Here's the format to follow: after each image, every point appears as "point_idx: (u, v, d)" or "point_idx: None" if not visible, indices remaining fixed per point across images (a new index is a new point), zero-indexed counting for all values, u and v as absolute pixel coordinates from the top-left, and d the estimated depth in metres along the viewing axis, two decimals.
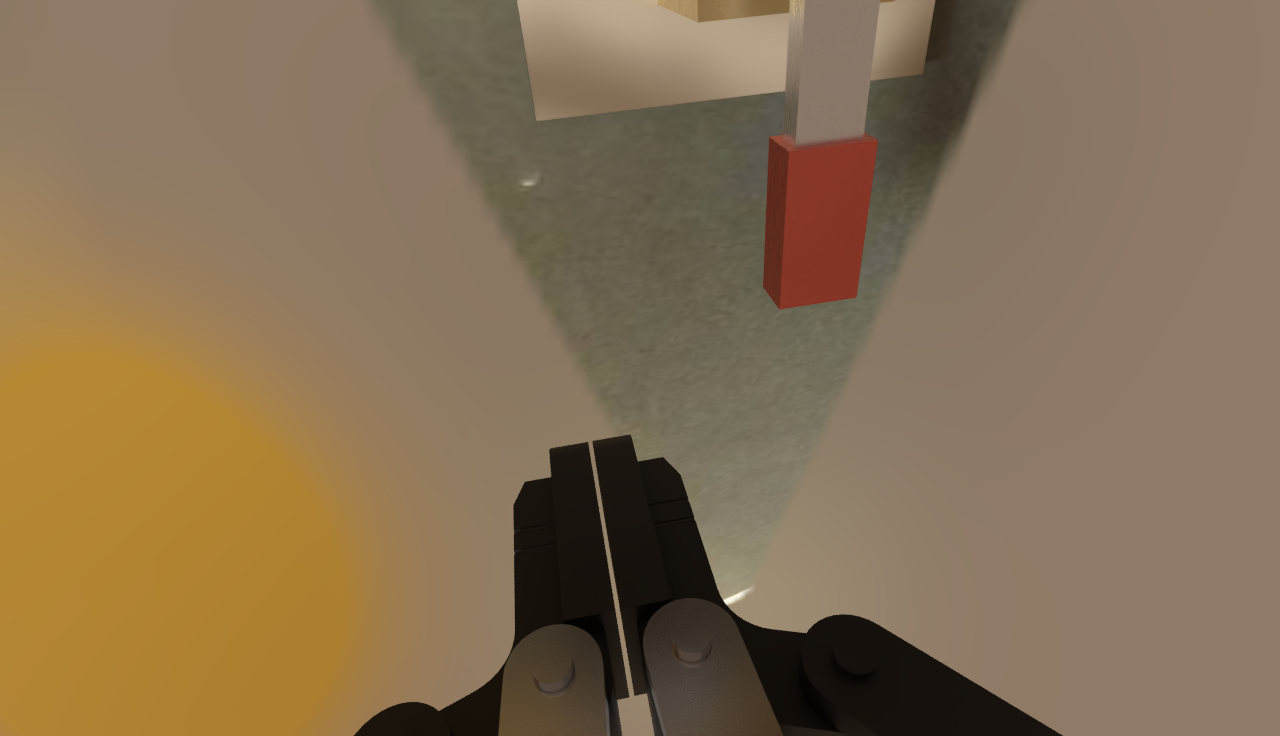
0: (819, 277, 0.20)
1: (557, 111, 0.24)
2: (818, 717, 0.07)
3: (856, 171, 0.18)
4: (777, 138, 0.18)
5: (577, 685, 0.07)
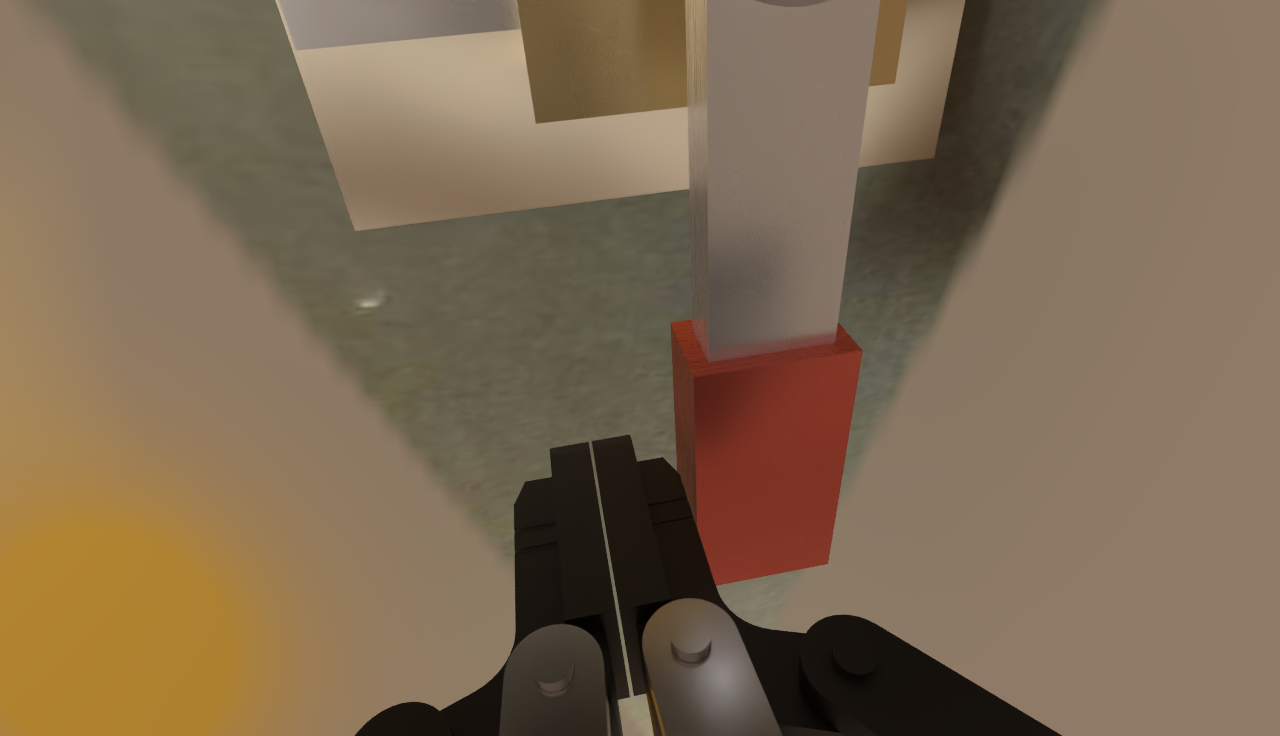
0: (764, 544, 0.12)
1: (385, 217, 0.16)
2: (817, 717, 0.07)
3: (823, 398, 0.10)
4: (683, 329, 0.10)
5: (578, 685, 0.07)
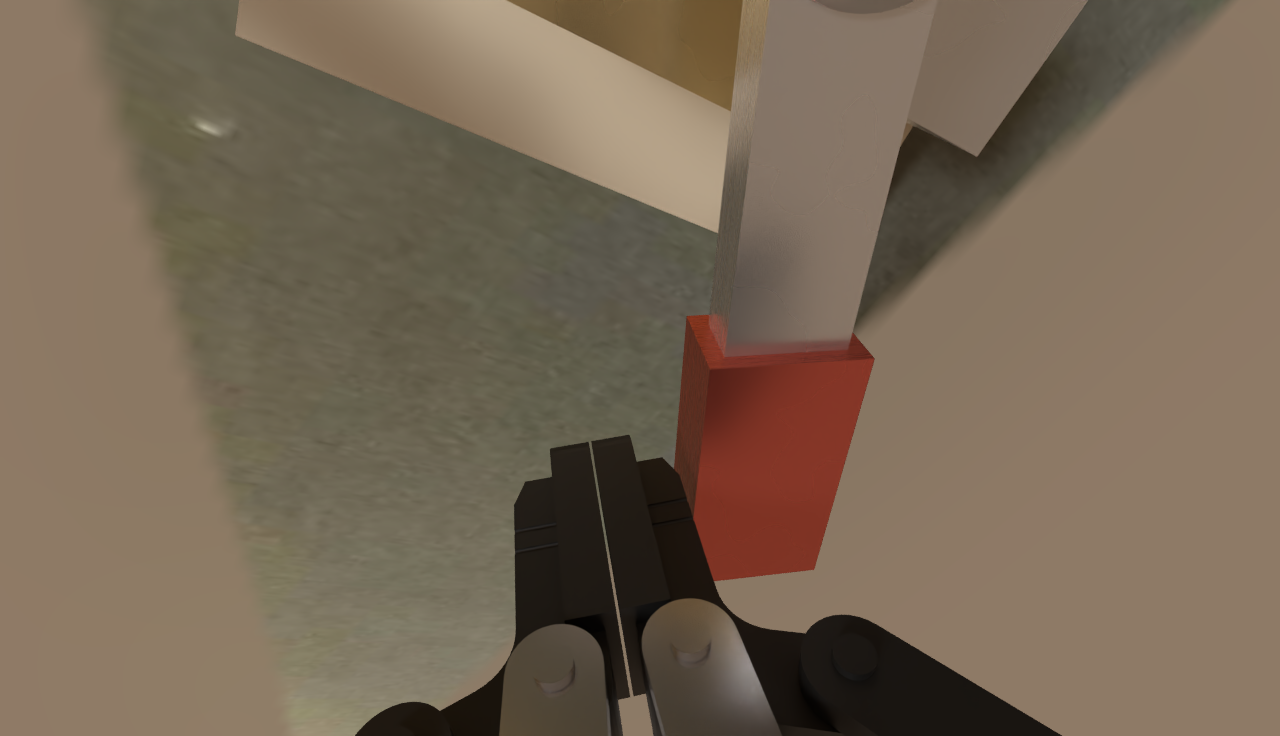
0: (755, 544, 0.12)
1: (279, 40, 0.14)
2: (817, 717, 0.07)
3: (831, 403, 0.10)
4: (699, 323, 0.10)
5: (578, 685, 0.07)
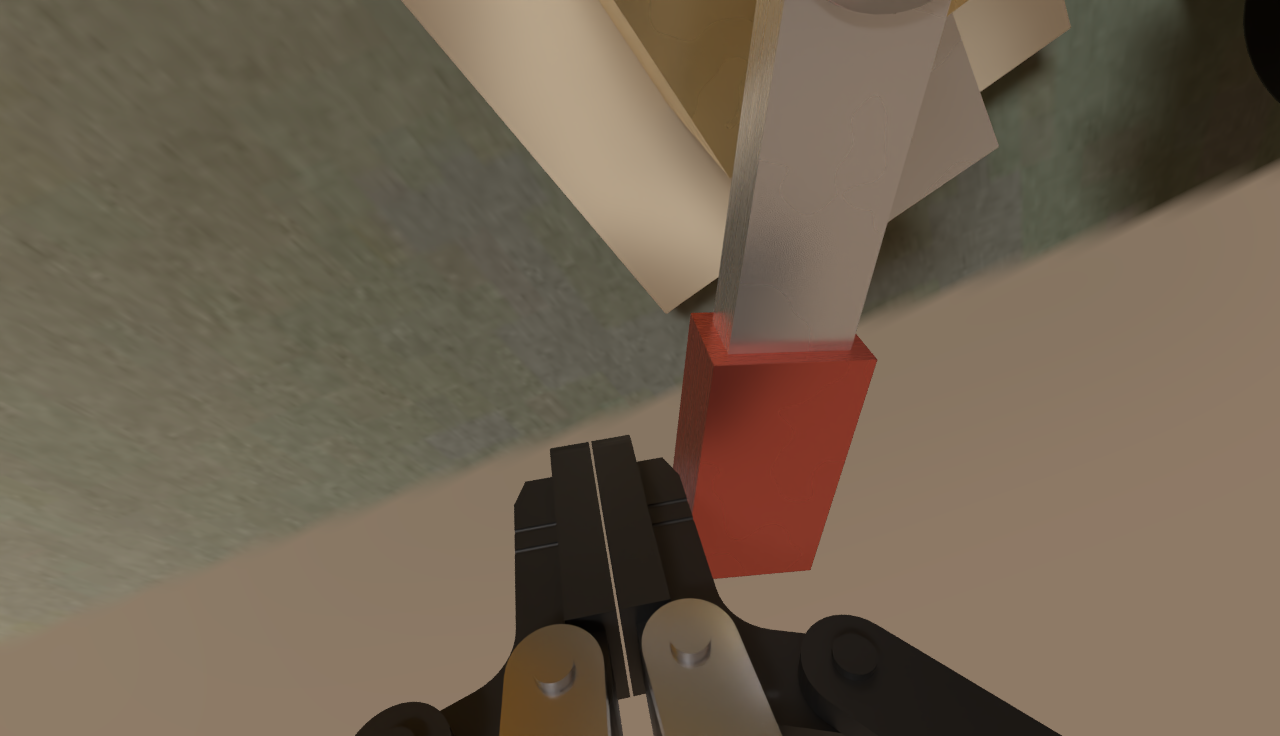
0: (752, 543, 0.12)
1: None
2: (817, 717, 0.07)
3: (832, 403, 0.10)
4: (703, 320, 0.10)
5: (578, 685, 0.07)
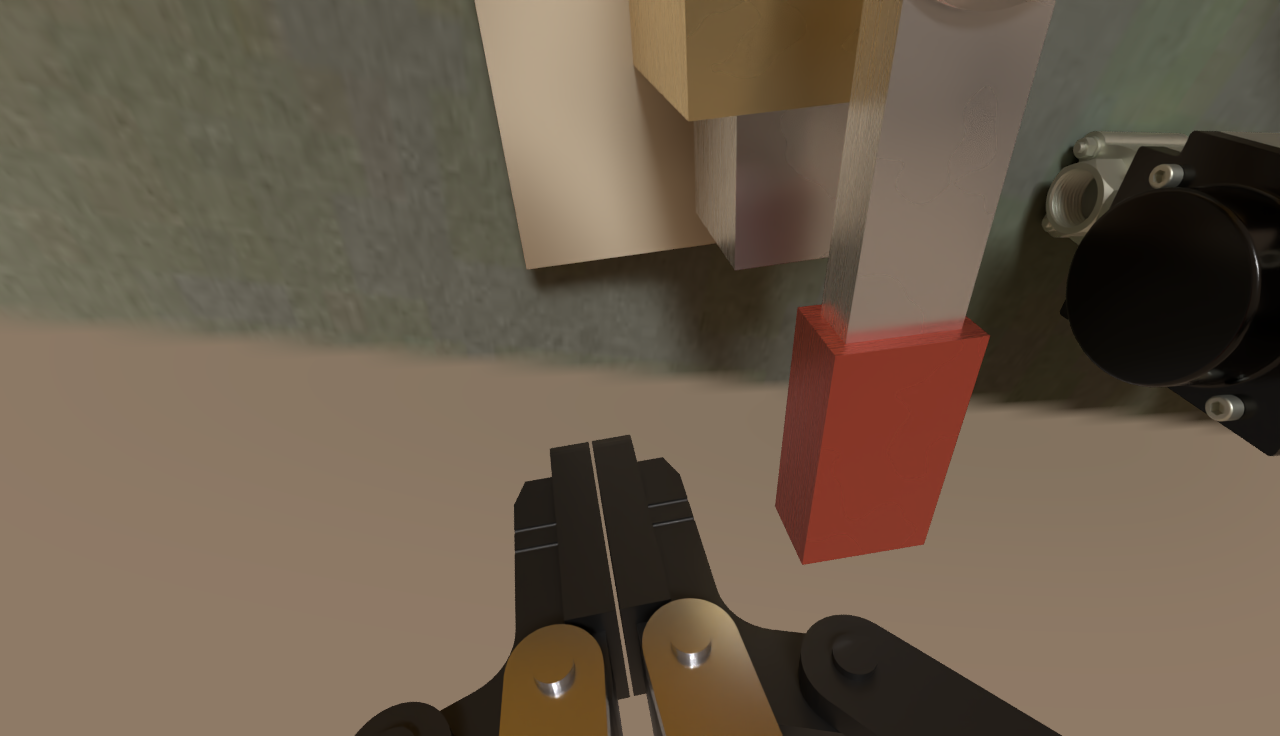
0: (869, 522, 0.12)
1: None
2: (817, 717, 0.07)
3: (947, 381, 0.10)
4: (811, 313, 0.11)
5: (577, 685, 0.07)
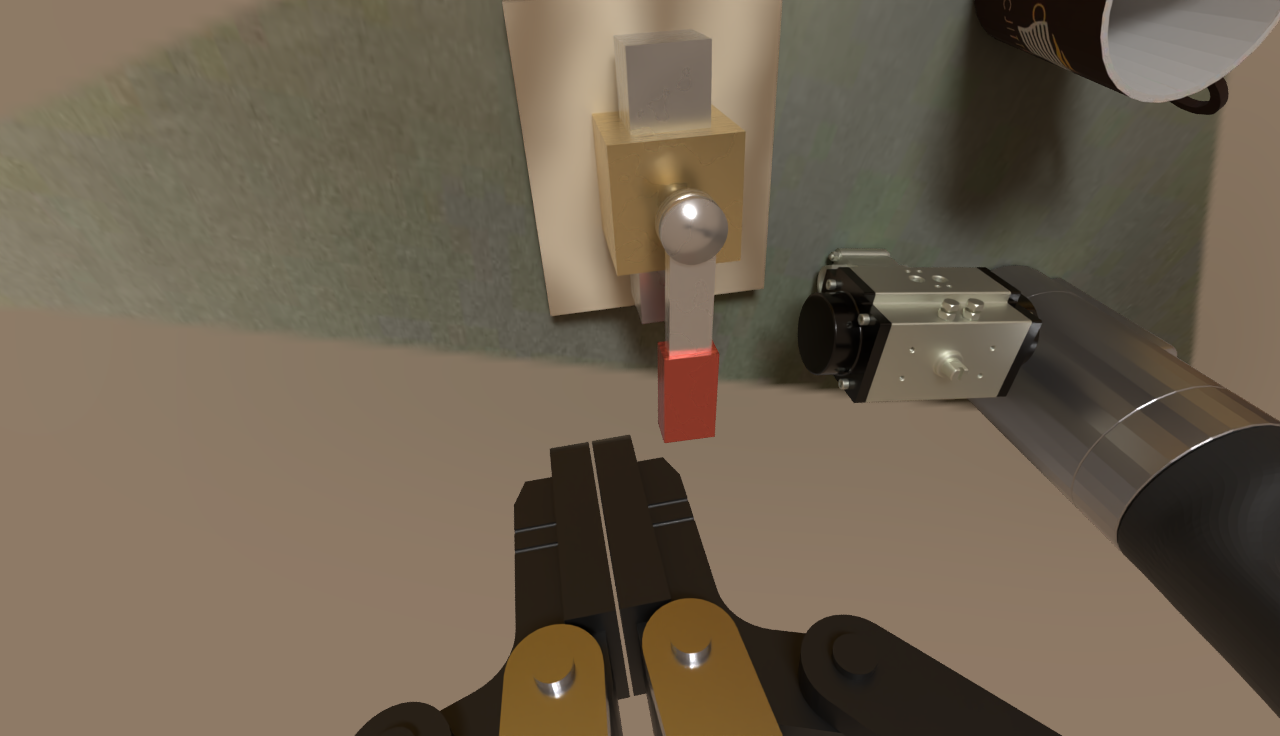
0: (689, 425, 0.31)
1: (511, 24, 0.28)
2: (817, 717, 0.07)
3: (707, 369, 0.30)
4: (661, 344, 0.30)
5: (577, 685, 0.07)
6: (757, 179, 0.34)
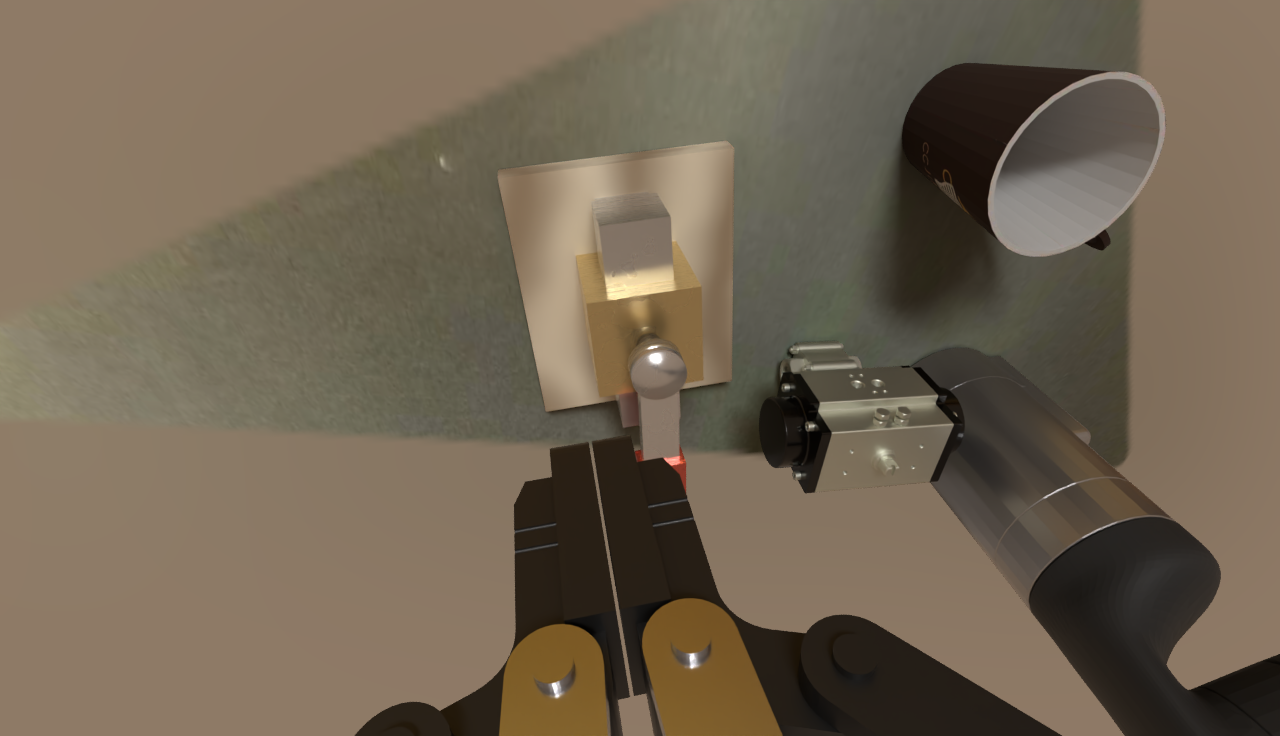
0: None
1: (505, 193, 0.34)
2: (817, 718, 0.07)
3: None
4: (638, 453, 0.36)
5: (578, 685, 0.07)
6: (721, 296, 0.40)
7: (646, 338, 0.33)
